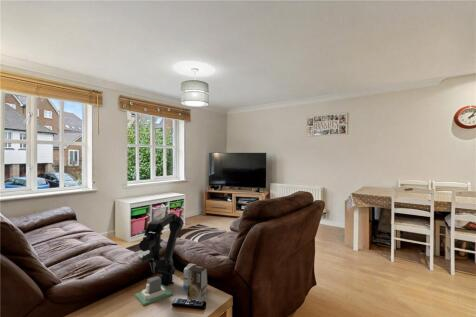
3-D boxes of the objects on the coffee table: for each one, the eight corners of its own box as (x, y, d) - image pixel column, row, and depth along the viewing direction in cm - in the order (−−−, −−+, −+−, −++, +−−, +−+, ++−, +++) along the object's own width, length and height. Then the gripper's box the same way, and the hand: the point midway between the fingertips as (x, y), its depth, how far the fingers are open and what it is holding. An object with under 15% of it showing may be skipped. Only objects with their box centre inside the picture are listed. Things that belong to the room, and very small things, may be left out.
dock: (163, 286, 143) (163, 281, 143) (172, 295, 134) (172, 289, 134) (135, 295, 132) (135, 290, 132) (143, 305, 123) (143, 300, 123)
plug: (157, 290, 137) (158, 275, 137) (160, 293, 134) (161, 278, 134) (145, 294, 132) (145, 279, 132) (147, 297, 129) (148, 282, 129)
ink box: (190, 290, 138) (191, 270, 139) (182, 289, 139) (183, 269, 140) (196, 283, 147) (196, 263, 147) (188, 282, 148) (189, 263, 148)
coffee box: (207, 297, 132) (208, 267, 133) (201, 303, 127) (201, 272, 127) (193, 293, 136) (194, 264, 136) (186, 298, 130) (187, 268, 131)
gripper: (134, 243, 135) (133, 271, 135) (146, 253, 121) (145, 284, 121) (153, 239, 142) (153, 266, 142) (167, 248, 128) (167, 278, 128)
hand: (154, 273), depth 133 cm, fingers open, 3 cm apart
